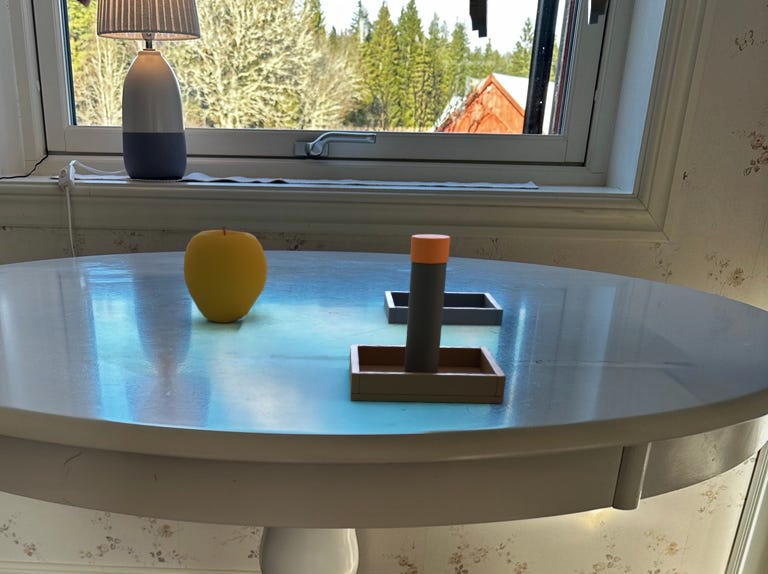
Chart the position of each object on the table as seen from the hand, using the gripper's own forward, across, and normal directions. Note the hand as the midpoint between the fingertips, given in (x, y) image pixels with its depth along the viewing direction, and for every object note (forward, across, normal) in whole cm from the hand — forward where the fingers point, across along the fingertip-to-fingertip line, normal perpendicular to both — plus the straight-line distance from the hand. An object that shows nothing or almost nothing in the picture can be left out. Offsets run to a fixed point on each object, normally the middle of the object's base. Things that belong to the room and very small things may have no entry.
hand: (537, 24), depth 75 cm
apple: (+16, -30, +16) cm, 38 cm away
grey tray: (+15, -9, +22) cm, 29 cm away
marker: (+28, -9, -3) cm, 30 cm away
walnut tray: (+29, -8, -3) cm, 30 cm away
